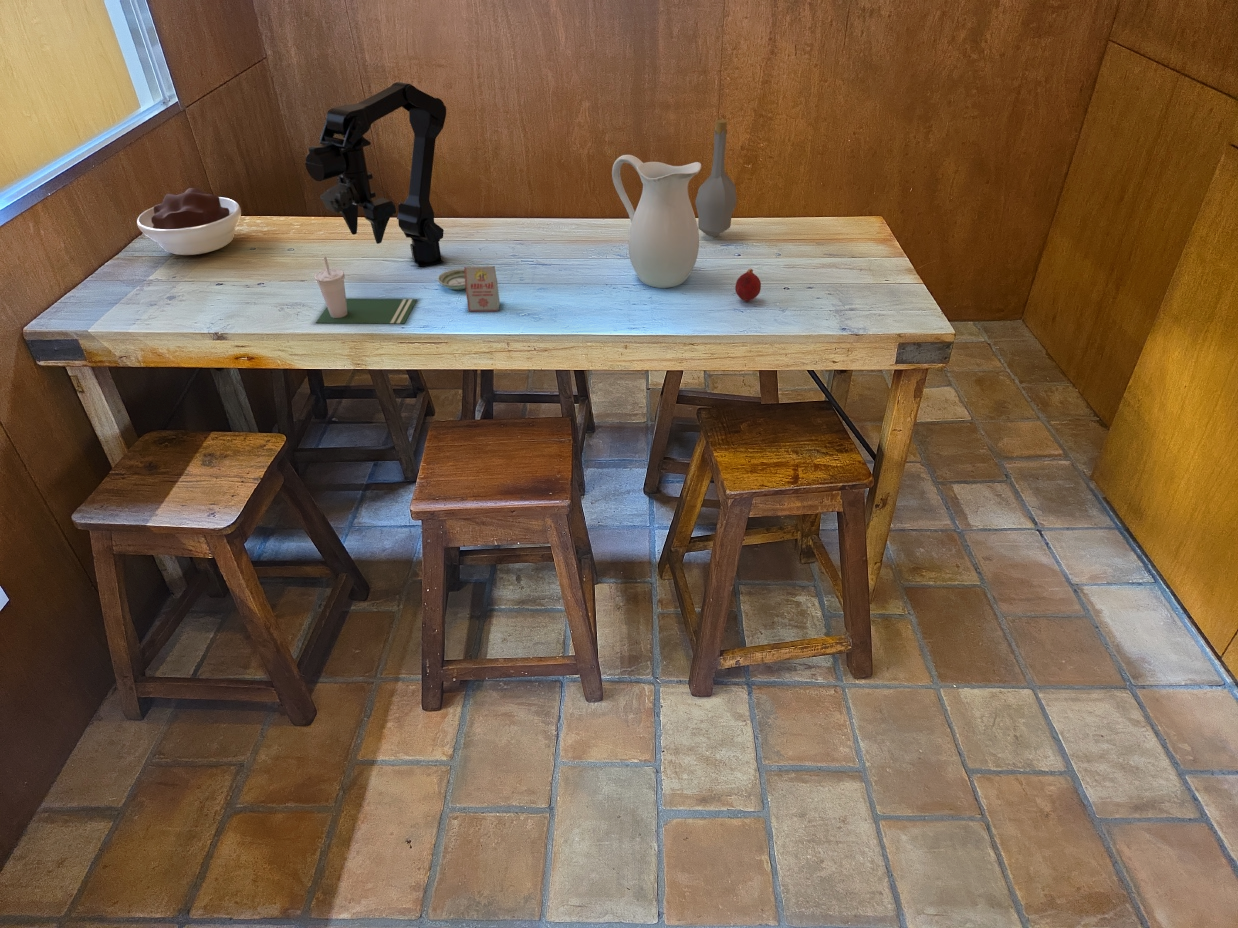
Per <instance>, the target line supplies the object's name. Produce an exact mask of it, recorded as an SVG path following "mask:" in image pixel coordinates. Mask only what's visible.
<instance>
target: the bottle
mask: <svg viewBox="0 0 1238 928" xmlns="http://www.w3.org/2000/svg"><path fill="white" fill-rule="evenodd" d="M727 127H728V120H727V119H716V120H715V129H714V136H713V137H714V139H713V140H714V141H713V142H714V143H713V157H712V166H711V171H710V174H709V176H708V177H707V178H706V179H705V181H704V182H702V184H701V185H700V186H698V191H697V194H696V198H695V203H694V204H695V208H696V212H697V216H698V217H697V221H698V223H697V226H698V230H700V231H701V232H702V233H703V234H705V235H706V236H708V237H711V238H718V237H719V236H720V235H722V233H724V232H726V231H727V230H729V229H730V228H731V225H732V217H733V214H734V211H735V209H736V206H737V203H738V196H737V188H736V184H735V183H734V182H733V180H732V179H731V178H730V177H729V175H727V173H726V169H725V168H726V165H725V160H726V159H725V158H726V144H727V135H728V128H727Z"/></svg>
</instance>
